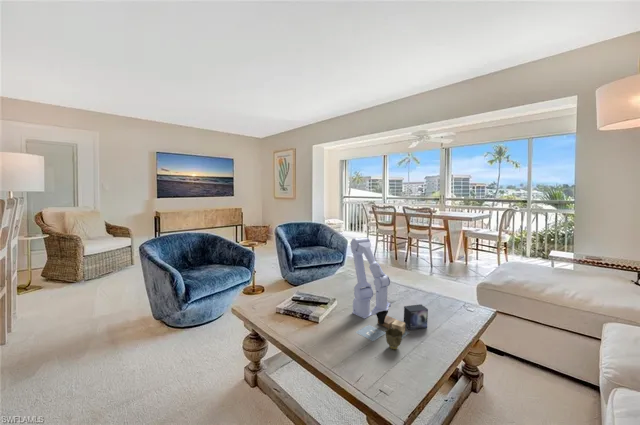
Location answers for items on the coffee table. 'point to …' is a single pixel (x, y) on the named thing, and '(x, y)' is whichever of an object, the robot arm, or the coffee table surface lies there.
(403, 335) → the code tile
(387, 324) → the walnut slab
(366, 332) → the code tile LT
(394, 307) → the coffee table surface
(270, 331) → the coffee table surface
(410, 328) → the small box
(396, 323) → the oak block
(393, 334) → the cup
